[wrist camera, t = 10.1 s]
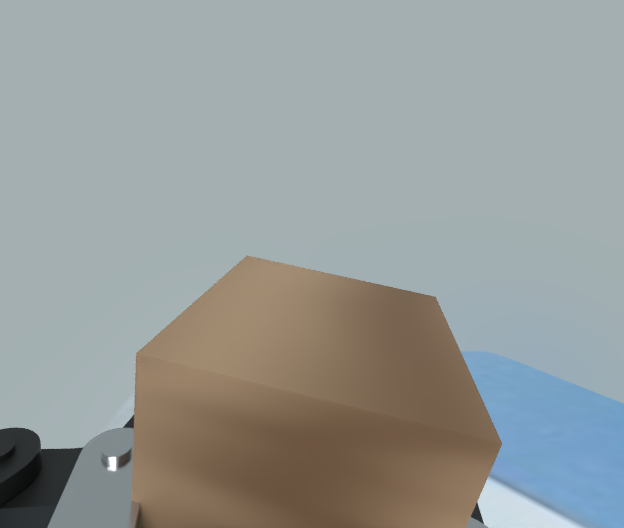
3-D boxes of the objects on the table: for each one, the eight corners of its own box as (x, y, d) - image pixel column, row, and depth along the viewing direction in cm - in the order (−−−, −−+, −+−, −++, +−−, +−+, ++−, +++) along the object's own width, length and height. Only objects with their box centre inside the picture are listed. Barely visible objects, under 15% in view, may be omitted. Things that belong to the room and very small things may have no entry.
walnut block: (123, 738, 8) (136, 353, 5) (211, 524, 13) (246, 255, 10) (343, 812, 8) (502, 443, 5) (352, 564, 13) (435, 297, 10)
